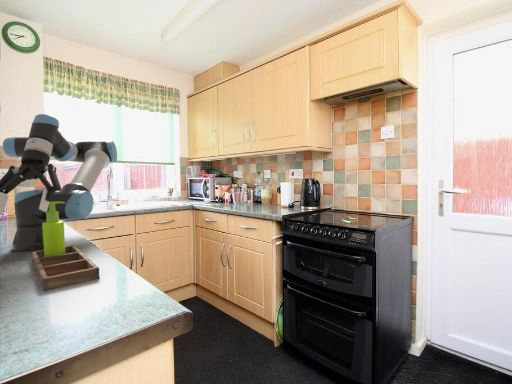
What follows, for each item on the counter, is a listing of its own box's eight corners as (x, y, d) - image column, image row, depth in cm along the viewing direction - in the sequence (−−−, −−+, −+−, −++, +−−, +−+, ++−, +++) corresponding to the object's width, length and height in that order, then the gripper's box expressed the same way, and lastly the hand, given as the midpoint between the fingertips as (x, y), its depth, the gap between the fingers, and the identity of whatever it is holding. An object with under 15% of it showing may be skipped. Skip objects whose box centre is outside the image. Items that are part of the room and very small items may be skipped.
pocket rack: (32, 260, 99) (31, 251, 98) (75, 253, 107) (74, 245, 107) (43, 291, 72) (43, 279, 72) (99, 278, 80) (98, 267, 80)
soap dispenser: (72, 258, 100) (69, 201, 99) (51, 264, 94) (47, 203, 92) (62, 256, 102) (58, 200, 101) (40, 262, 96) (36, 202, 95)
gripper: (-9, 150, 96) (-32, 209, 87) (68, 146, 97) (53, 204, 88) (8, 161, 103) (-11, 218, 94) (80, 158, 104) (68, 213, 95)
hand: (20, 211), depth 91 cm, fingers open, 13 cm apart
